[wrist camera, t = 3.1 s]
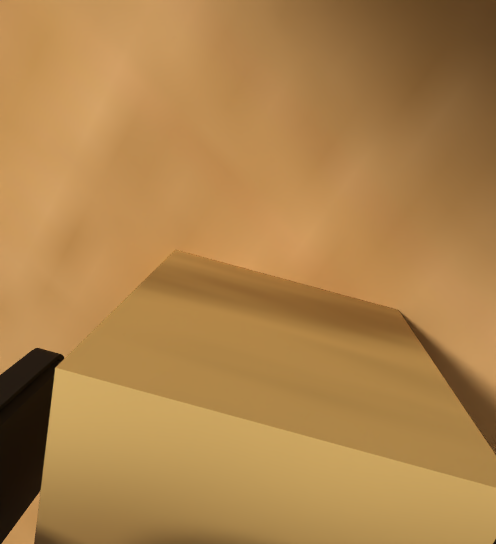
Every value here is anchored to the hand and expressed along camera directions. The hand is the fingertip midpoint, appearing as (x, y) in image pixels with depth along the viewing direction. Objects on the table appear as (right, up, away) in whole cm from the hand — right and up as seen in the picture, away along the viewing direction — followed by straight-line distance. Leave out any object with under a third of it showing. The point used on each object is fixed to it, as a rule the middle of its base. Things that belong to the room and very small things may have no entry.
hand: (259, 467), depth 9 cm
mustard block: (0, +1, +3) cm, 3 cm away
